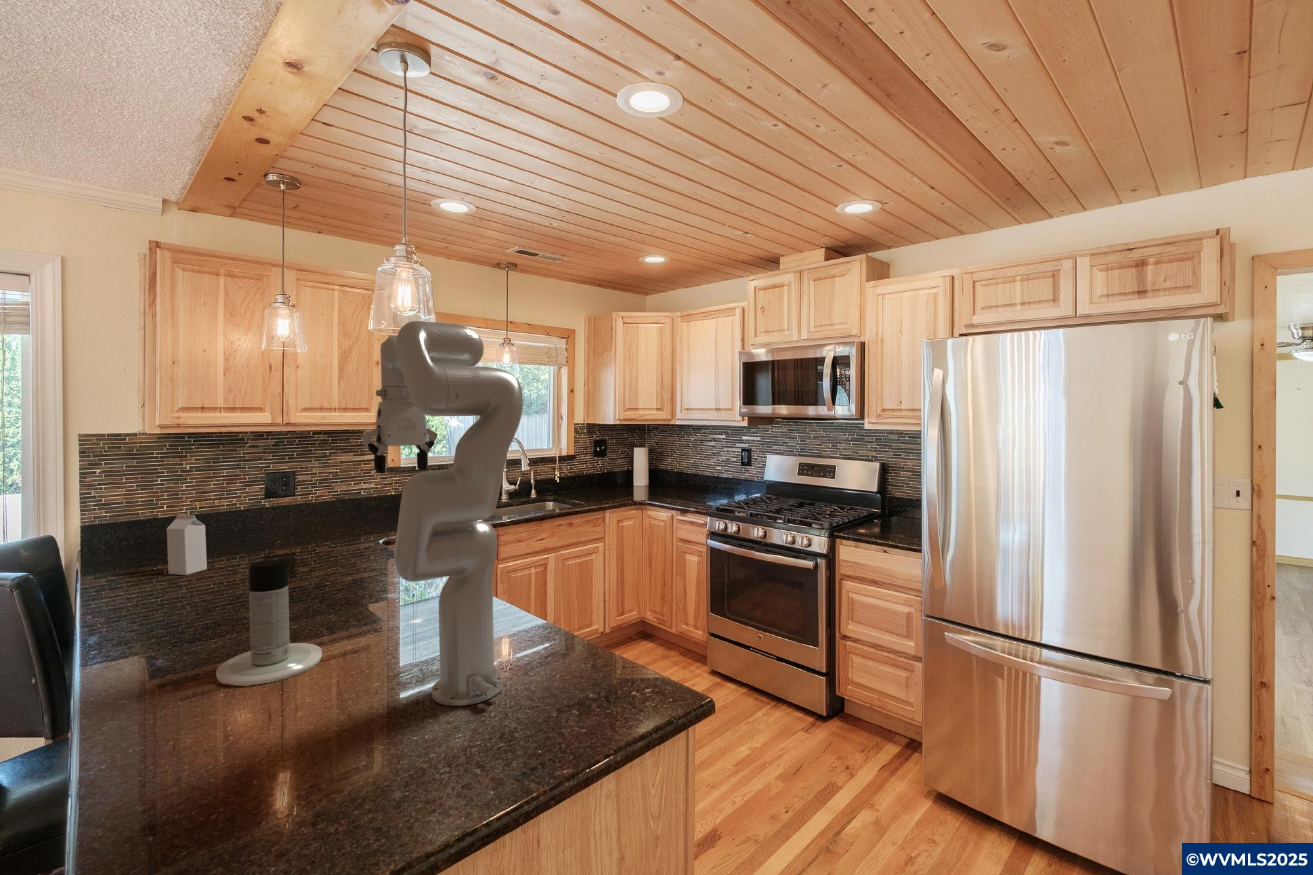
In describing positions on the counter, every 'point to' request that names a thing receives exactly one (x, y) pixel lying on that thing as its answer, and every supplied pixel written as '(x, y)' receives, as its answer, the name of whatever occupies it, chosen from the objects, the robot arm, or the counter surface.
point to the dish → (269, 666)
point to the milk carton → (186, 545)
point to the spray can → (269, 612)
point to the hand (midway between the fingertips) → (402, 471)
